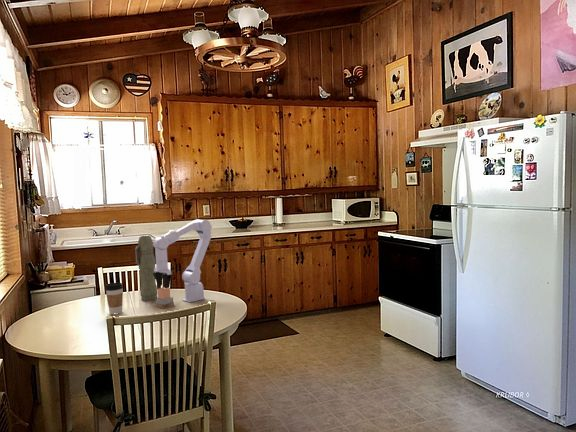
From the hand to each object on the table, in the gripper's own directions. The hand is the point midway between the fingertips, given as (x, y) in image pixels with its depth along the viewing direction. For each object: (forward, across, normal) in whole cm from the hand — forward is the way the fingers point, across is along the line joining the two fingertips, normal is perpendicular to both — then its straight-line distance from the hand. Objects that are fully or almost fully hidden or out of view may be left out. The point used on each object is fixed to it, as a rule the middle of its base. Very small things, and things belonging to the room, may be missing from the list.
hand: (163, 286), depth 238 cm
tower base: (+11, 0, 0) cm, 11 cm away
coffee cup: (+10, -9, -22) cm, 26 cm away
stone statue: (+10, -21, +2) cm, 24 cm away
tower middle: (+8, 0, 0) cm, 8 cm away
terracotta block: (+6, 0, 0) cm, 6 cm away
